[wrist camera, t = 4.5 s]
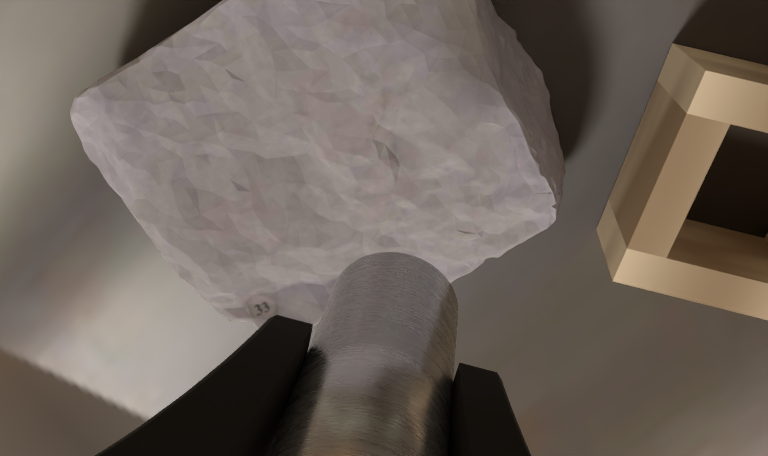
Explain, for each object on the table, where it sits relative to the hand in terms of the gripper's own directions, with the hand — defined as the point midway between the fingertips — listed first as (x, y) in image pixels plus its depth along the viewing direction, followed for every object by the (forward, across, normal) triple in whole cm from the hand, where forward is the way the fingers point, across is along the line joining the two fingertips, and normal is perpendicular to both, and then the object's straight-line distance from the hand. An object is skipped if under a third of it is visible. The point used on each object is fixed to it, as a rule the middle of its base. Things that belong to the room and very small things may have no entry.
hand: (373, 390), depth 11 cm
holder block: (+10, -8, -2) cm, 13 cm away
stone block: (+11, +3, 0) cm, 11 cm away
